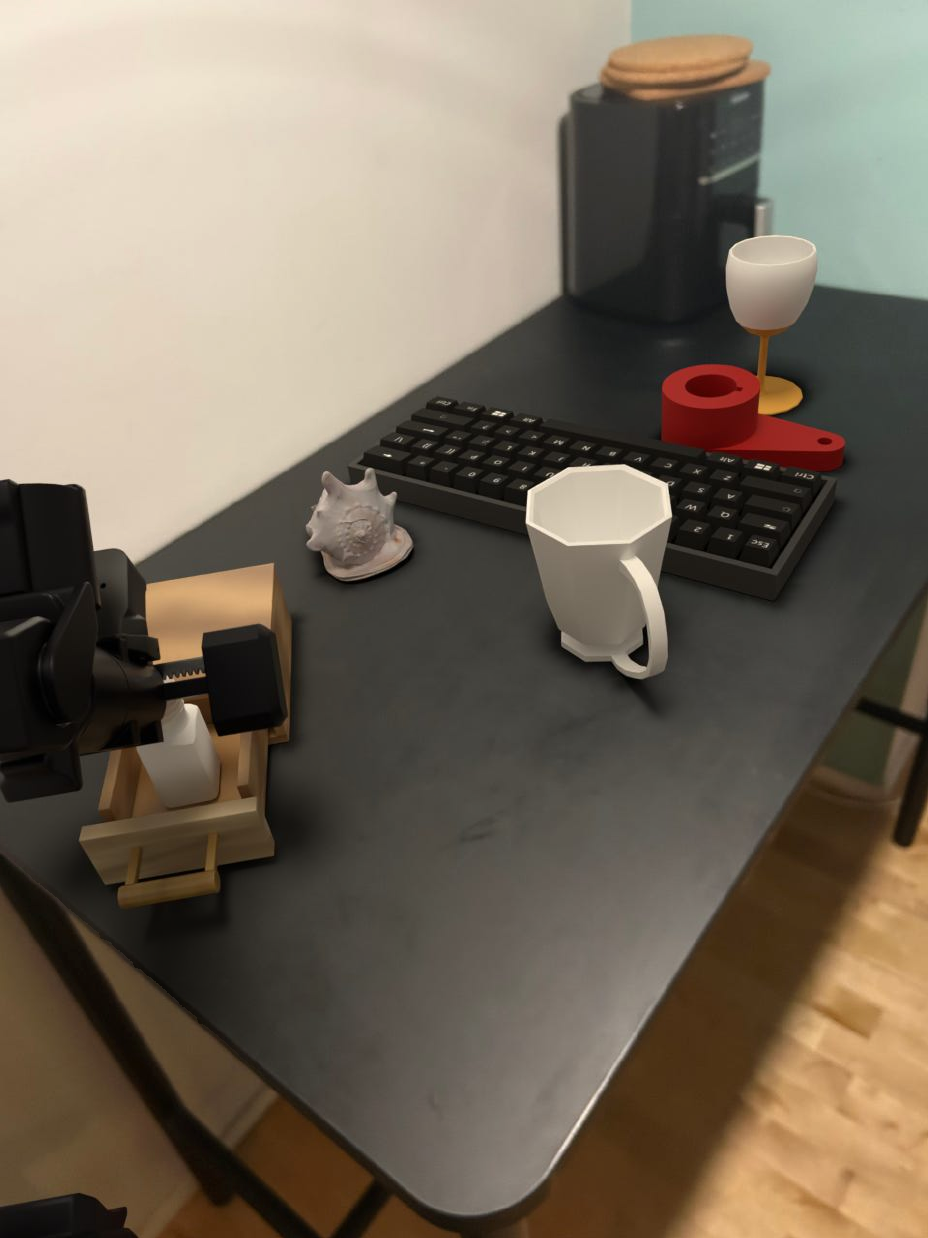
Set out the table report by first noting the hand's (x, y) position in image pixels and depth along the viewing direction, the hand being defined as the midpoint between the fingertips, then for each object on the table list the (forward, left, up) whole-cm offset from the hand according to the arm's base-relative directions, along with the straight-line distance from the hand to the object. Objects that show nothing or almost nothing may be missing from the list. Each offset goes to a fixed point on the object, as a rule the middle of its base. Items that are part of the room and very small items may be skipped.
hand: (165, 702), depth 65 cm
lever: (+61, -14, -9) cm, 63 cm away
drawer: (-2, -2, -8) cm, 9 cm away
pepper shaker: (-1, -1, -7) cm, 7 cm away
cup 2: (+72, -10, -9) cm, 73 cm away
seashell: (+28, +11, -9) cm, 31 cm away
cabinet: (+8, +7, -9) cm, 14 cm away
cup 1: (+28, -18, -9) cm, 35 cm away
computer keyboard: (+46, -3, -9) cm, 47 cm away
